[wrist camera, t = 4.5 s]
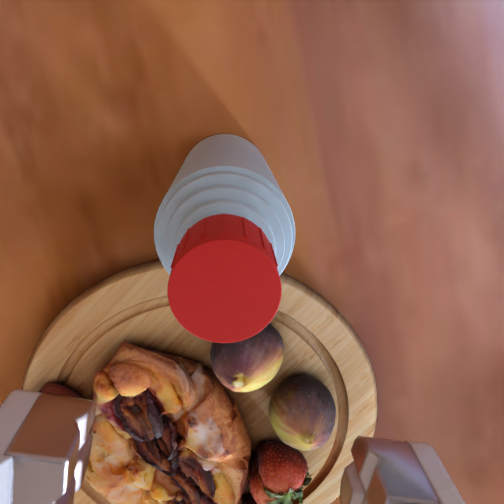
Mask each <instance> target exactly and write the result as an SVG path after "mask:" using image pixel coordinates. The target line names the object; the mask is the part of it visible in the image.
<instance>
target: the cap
mask: <svg viewBox="0 0 504 504" xmlns="http://www.w3.org/2000/svg"><path fill="white" fill-rule="evenodd" d="M277 267H278V264H277V260H276V257H275V253H274V250H273V247H272V243H270V242H269V240H268V238H267V237H266V235H265V234H264V232H263V231H262V229H261V228H259V227H258V226H257V225H256V224H254V223H253V222H251V221H249V220H248V219H246V218H245V217H240V216H237V215H231V214H219V215H213V216H209V217H207V218H206V217H205V218H204V219H202V220H200V221H198V222H197V223H195V224H194V225H193V226H192V227H191V228H190V229H189V228H188V229H187V232H186V233H185V234H184V236H183V238H182V239H181V241H180V244H178V245H177V248H176V251H175V254H174V258H173V261H172V264H171V267H170V268H172V270H171V273H170V277H169V281H168V288H167V295H168V301H169V305H170V308H171V311H172V313H173V315H174V316H175V318H176V319H177V321H178V322H179V323H180V324H181V325H182V326H183V327H184V328H185V329H186V330H187V331H188V332H190V333H191V334H193V335H195V336H197V337H199V338H201V339H204V340H207V341H210V342H215V343H233V342H238V341H242V340H245V339H248V338H250V337H252V336H254V335H256V334H257V333H259V332H260V331H262V330H263V329H264V328H265V327H266V326H267V325H268V324H269V323H270V322H271V320H272V319H273V317H274V316H275V314H276V312H277V310H278V308H279V305H280V301H281V296H282V287H281V286H282V284H281V280H280V276H279V273H278V269H277Z"/></svg>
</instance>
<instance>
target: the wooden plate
mask: <svg viewBox="0 0 504 504" xmlns="http://www.w3.org/2000/svg"><path fill="white" fill-rule="evenodd" d="M169 277H170V275H169V274H168V272H167V271H166V270H165V268H164V267H163V265H162V263H161V261H160V260H156V261H152V262H148V263H145V264H141V265H137V266H134V267H130V268H128V269H125V270H123V271H120V272H118V273H116V274H114V275H112V276H110V277H108V278H106V279H104V280H102V281H100V282H98V283H96V284H95V285H93V286H92V287H90V288H89V289H87V290H85V291H84V292H83V293H81V294H80V295H79V296H77V297H76V298H75V299H74V300H72V301H71V302H70V303H69V304H68V305H67V306H66V307H65V308H64V309H63V310H62V311H61V312H60V313H59V314H58V315H57V316H56V317H55V318H54V319H53V321H52V322H51V323H50V325H49V326H48V327H47V329H46V330H45V332H44V333H43V335H42V336H41V337H40V339H39V341H38V343H37V344H36V346H35V348H34V350H33V353H32V355H31V357H30V359H29V362H28V365H27V368H26V372H25V377H24V382H23V387H22V390H27V391H34V392H40V393H49V394H55V395H62V396H68V397H75V398H81V399H88V400H94V401H95V402H96V411H95V419H94V422H93V424H92V427H91V430H90V433H91V435H92V436H93V439H92V447H91V453H90V458H89V462H88V466H87V470H86V473H85V477H84V480H83V483H82V486H81V488H80V489H79V490H78V491H77V492H75V495H74V504H331V503H332V502H333V501H334V500H335V499H336V498H337V497H338V496H339V495H340V486H341V479H342V475H343V472H344V469H345V467H346V466H348V465H349V464H350V463H351V462H353V461H354V459H353V456H352V453H351V448H352V446H353V443H354V440H355V439H356V438H357V437H358V436H366V437H373V435H374V431H375V426H376V418H377V389H376V381H375V376H374V372H373V368H372V365H371V362H370V360H369V357H368V355H367V352H366V350H365V348H364V347H363V345H362V343H361V341H360V339H359V337H358V336H357V334H356V333H355V331H354V330H353V328H352V327H351V325H350V324H349V323H348V322H347V321H346V319H345V318H344V317H343V316H342V315H341V314H340V313H339V311H338V310H337V309H336V308H335V307H334V306H333V305H332V304H331V303H330V302H328V301H327V300H326V299H325V298H323V297H322V296H321V295H319V294H318V293H317V292H315V291H314V290H312V289H311V288H309V287H308V286H306V285H305V284H303V283H301V282H300V281H298V280H296V279H294V278H293V277H291V276H288V275H286V274H284V273H281V275H280V280H281V284H282V286H281V287H282V296H281V301H280V305H279V308H278V310H277V312H276V314H275V316H274V317H273V319H272V320H271V322H270V323H269V324H268V325H267V326H266V327H265V328H264V329H263V330H262V331H260V332H259V333H257V334H256V335H254V336H252V337H250V338H248V339H245V340H242V341H238V342H233V343H215V342H210V341H207V340H204V339H201V338H199V337H197V336H195V335H193V334H191V333H190V332H188V331H187V330H186V329H185V328H184V327H183V326H182V325H181V324H180V323H179V322H178V321H177V319H176V318H175V316H174V315H173V313H172V311H171V308H170V305H169V301H168V295H167V288H168V281H169Z"/></svg>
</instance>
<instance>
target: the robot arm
mask: <svg viewBox="0 0 504 504" xmlns="http://www.w3.org/2000/svg"><path fill="white" fill-rule="evenodd" d="M95 411H96V402H95V401H94V400H88V399H81V398H75V397H68V396H62V395H55V394H49V393H40V392H34V391H27V390H20V389H15V390H14V391H12V392H11V393H9V395H8V396H7V398H6V399H5V400H4V402H3V403H2V405H1V406H0V504H74V495H75V492H77V491H78V490H79V489H80V488H81V486H82V483H83V480H84V477H85V473H86V470H87V466H88V462H89V458H90V453H91V447H92V439H93V436H92V435H91V433H90V430H91V427H92V424H93V422H94V419H95ZM351 453H352V456H353V459H354V461H353V462H351V463H350V464H349V465H348V466H346V467H345V469H344V472H343V475H342V479H341V486H340V501H341V504H465V502H464V500H463V498H462V497H461V495H460V493H459V491H458V490H457V488H456V486H455V484H454V483H453V481H452V479H451V478H450V476H449V474H448V472H447V471H446V469H445V467H444V465H443V464H442V462H441V460H440V459H439V457H438V455H437V453H436V452H435V450H434V448H433V447H432V446H431V445H429V444H428V443H422V442H413V441H398V440H390V439H382V438H374V437H366V436H358V437H357V438H356V439H355V440H354V443H353V446H352V448H351Z"/></svg>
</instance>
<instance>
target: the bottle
mask: <svg viewBox="0 0 504 504" xmlns="http://www.w3.org/2000/svg"><path fill="white" fill-rule="evenodd" d="M219 214H231V215H237V216H240V217H245V218H246V219H248V220H249V221H251V222H253V223H254V224H256V225H257V226H258V227H259V228H261V229H262V231H263V232H264V234H265V235H266V237H267V238H268V240H269V242H270V243H272V247H273V250H274V253H275V257H276V260H277V264H278V267H277V269H278V273H279V276H280V275H281V273H282V272H283V270H284V269H285V267H286V266H287V264H288V262H289V260H290V257H291V255H292V252H293V248H294V243H295V223H294V218H293V214H292V212H291V209H290V206H289V204H288V202H287V200H286V199H285V197H284V195H283V193H282V191H281V189H280V187H279V185H278V184H277V182H276V180H275V178H274V176H273V174H272V172H271V170H270V168H269V167H268V165H267V163H266V161H265V159H264V157H263V155H262V154H261V152H260V151H259V150H258V149H257V148H256V147H255V146H254V145H253V144H252V143H251V142H249V141H248V140H246V139H244V138H242V137H240V136H236V135H231V134H218V135H214V136H210V137H208V138H206V139H204V140H202V141H200V142H199V143H198V144H197V145H195V146H194V147H193V149H192V150H191V151H190V152H189V154H188V156H187V157H186V159H185V161H184V163H183V165H182V166H181V168H180V170H179V172H178V174H177V175H176V177H175V179H174V181H173V183H172V184H171V186H170V188H169V190H168V192H167V193H166V195H165V197H164V199H163V201H162V202H161V204H160V206H159V209H158V212H157V214H156V219H155V223H154V242H155V247H156V251H157V254H158V257H159V259H160V261H161V263H162V265H163V267H164V268H165V270H166V271H167V272H168V274H169V275H170V273H171V270H172V268H170V267H171V264H172V261H173V258H174V254H175V251H176V248H177V245H178V244H180V241H181V239H182V238H183V236H184V234H185V233H186V232H187V229H188V228H189V229H190V228H191V227H192V226H193V225H194V224H195V223H197V222H198V221H200V220H202V219H204V218H205V217H206V218H207V217H209V216H213V215H219Z"/></svg>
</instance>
